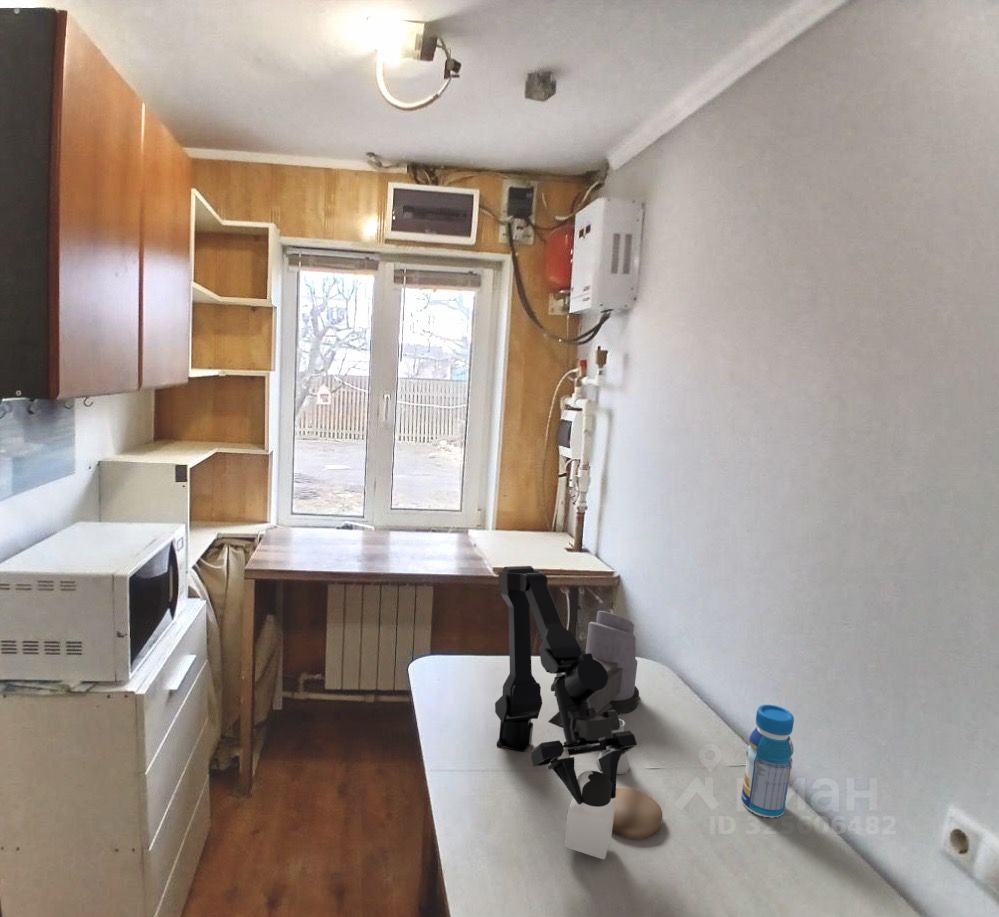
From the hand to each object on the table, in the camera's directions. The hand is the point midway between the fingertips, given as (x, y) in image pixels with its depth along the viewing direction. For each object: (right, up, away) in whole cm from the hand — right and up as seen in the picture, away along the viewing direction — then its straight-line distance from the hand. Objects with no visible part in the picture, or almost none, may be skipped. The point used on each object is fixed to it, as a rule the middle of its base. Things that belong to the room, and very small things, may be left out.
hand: (597, 801), depth 116 cm
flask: (+8, -7, +29) cm, 31 cm away
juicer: (+8, -4, +54) cm, 55 cm away
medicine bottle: (-1, -8, +3) cm, 9 cm away
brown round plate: (+8, -9, +12) cm, 17 cm away
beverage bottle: (+36, -11, +19) cm, 42 cm away
